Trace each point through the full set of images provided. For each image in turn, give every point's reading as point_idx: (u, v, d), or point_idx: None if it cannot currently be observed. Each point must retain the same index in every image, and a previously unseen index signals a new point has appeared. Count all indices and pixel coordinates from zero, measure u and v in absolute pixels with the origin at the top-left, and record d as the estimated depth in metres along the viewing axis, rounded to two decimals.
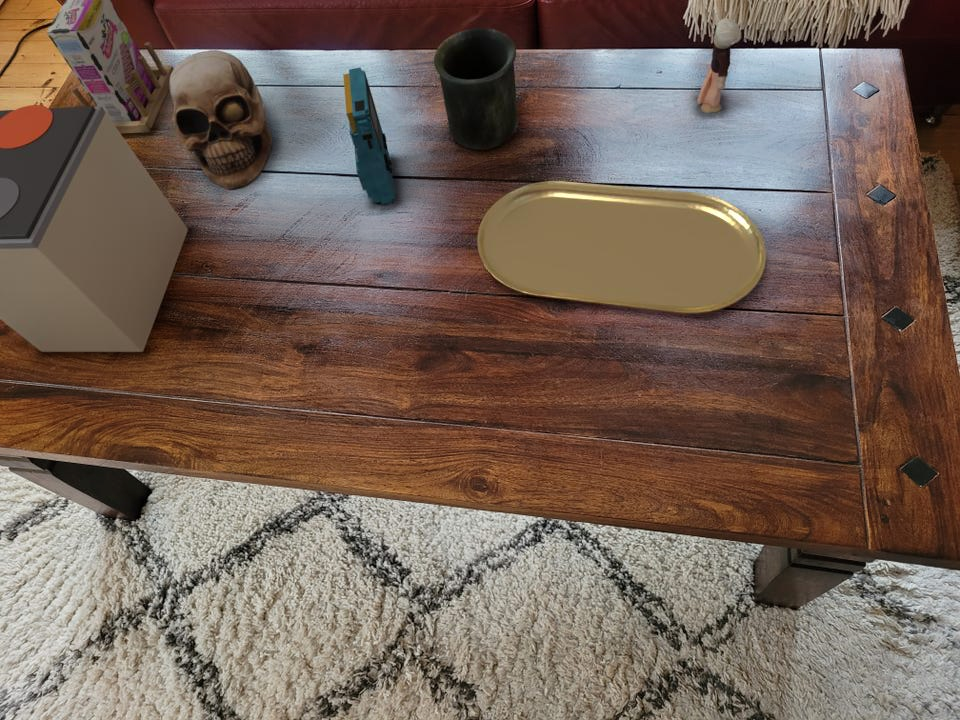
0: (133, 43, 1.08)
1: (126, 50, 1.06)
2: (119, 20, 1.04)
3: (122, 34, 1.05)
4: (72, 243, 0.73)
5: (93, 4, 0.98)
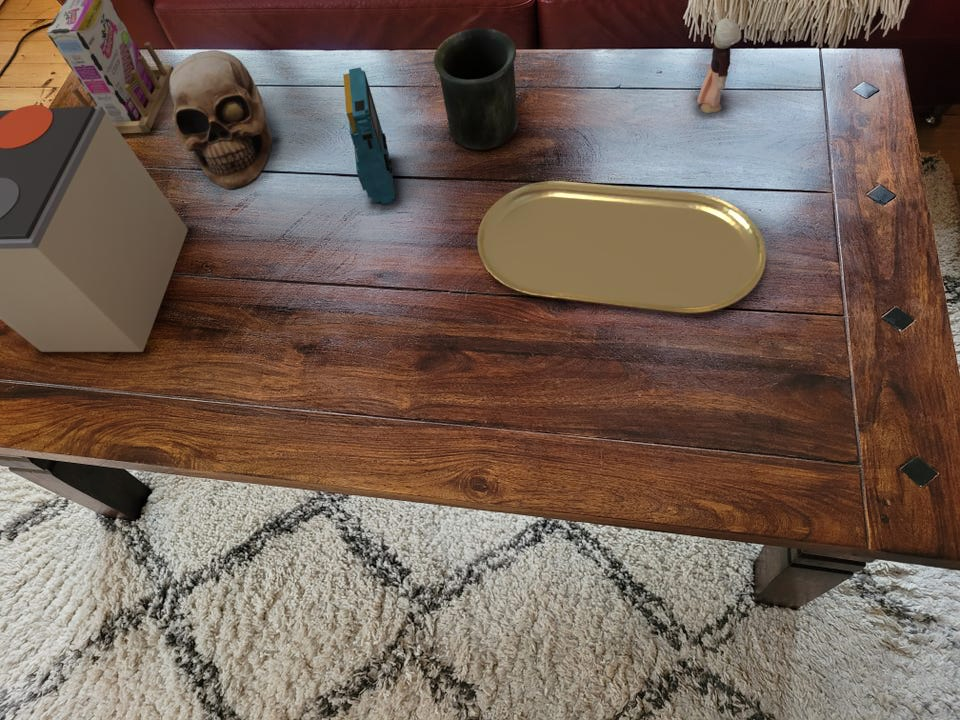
0: (133, 43, 1.08)
1: (126, 50, 1.06)
2: (119, 20, 1.04)
3: (122, 34, 1.05)
4: (72, 243, 0.73)
5: (93, 4, 0.98)
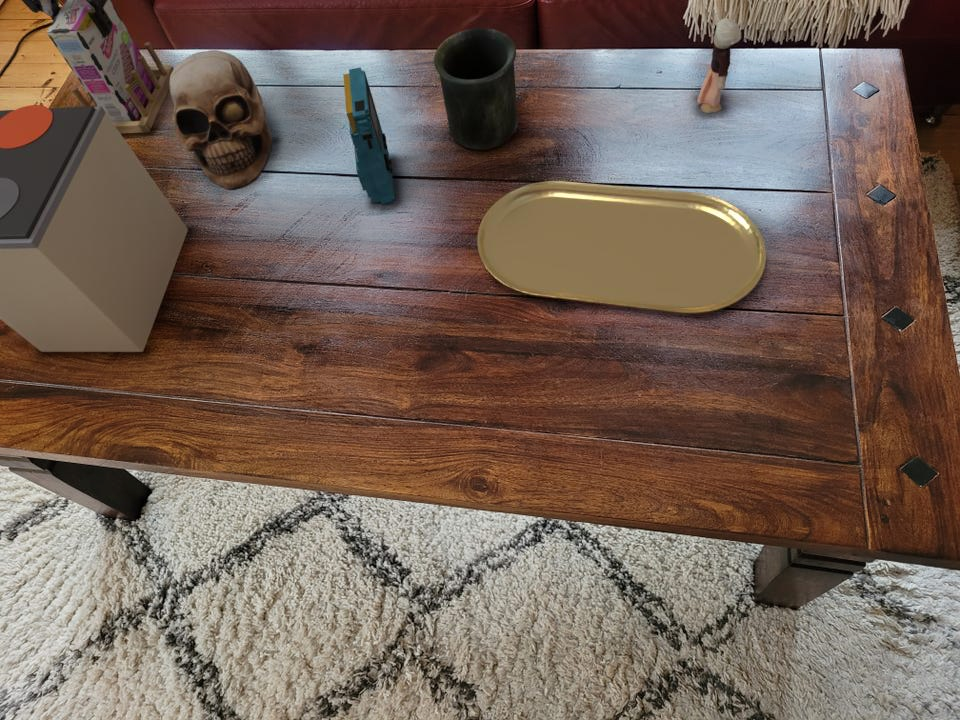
0: (133, 43, 1.08)
1: (126, 50, 1.06)
2: (119, 20, 1.04)
3: (122, 33, 1.05)
4: (72, 243, 0.73)
5: None
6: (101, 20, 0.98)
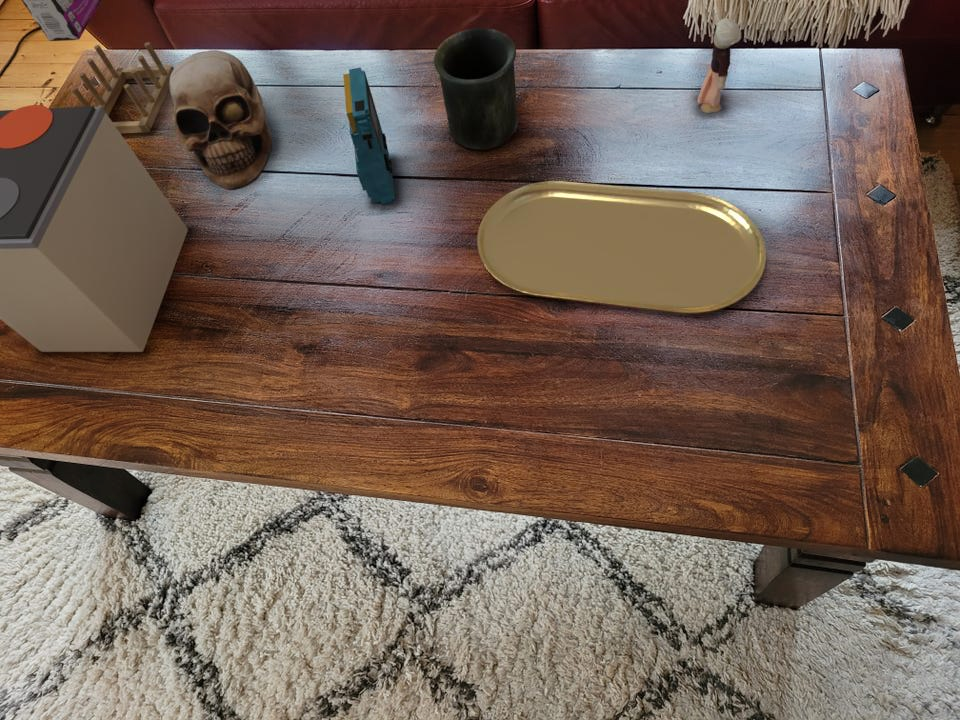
0: None
1: None
2: None
3: None
4: (72, 243, 0.73)
5: None
6: None
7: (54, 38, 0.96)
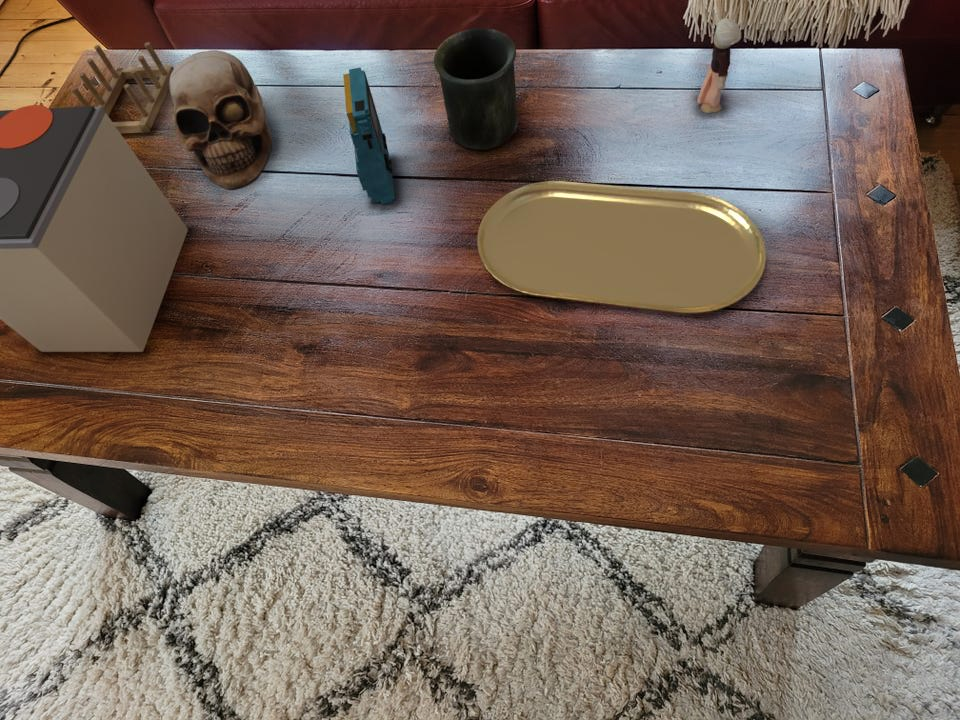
0: None
1: None
2: None
3: None
4: (72, 243, 0.73)
5: None
6: None
7: None
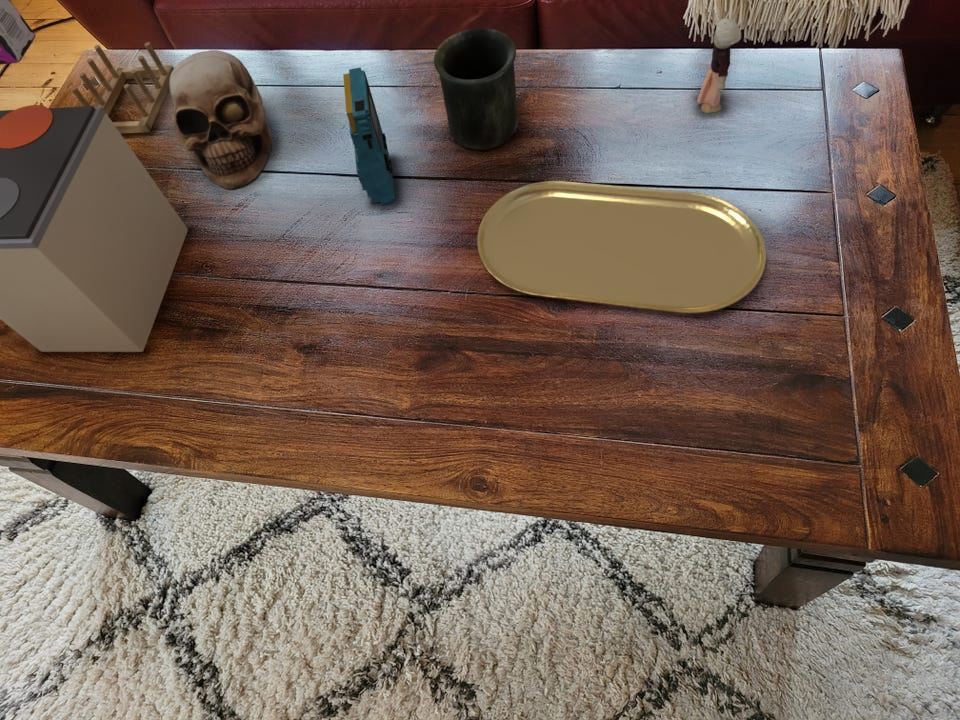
0: None
1: None
2: None
3: None
4: (72, 243, 0.73)
5: None
6: None
7: (21, 52, 0.70)
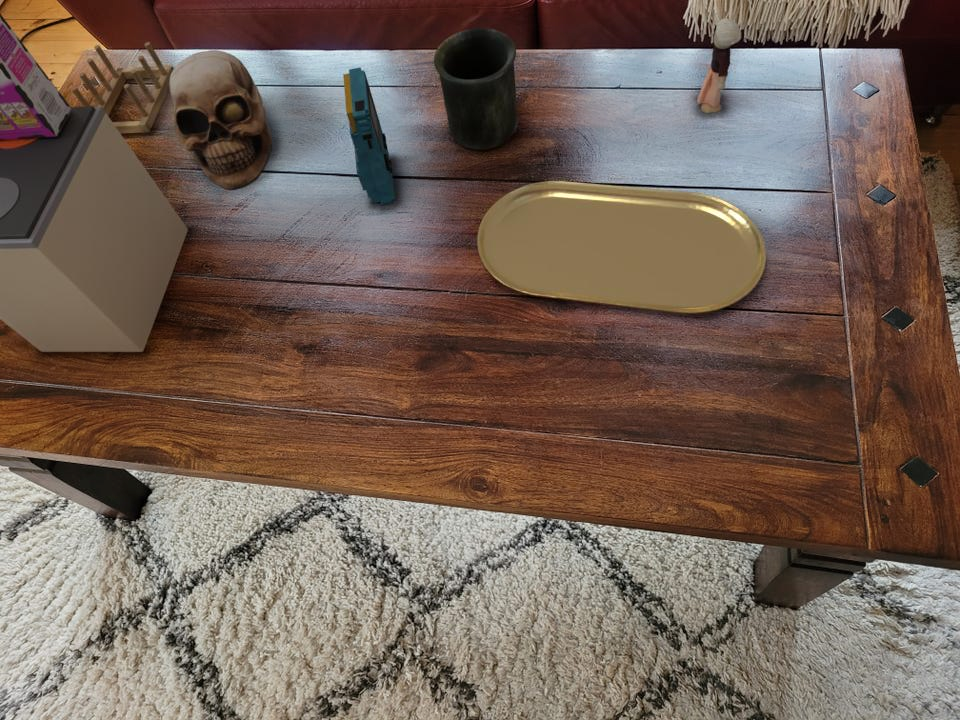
0: None
1: None
2: None
3: None
4: (72, 243, 0.73)
5: None
6: None
7: (58, 127, 0.75)
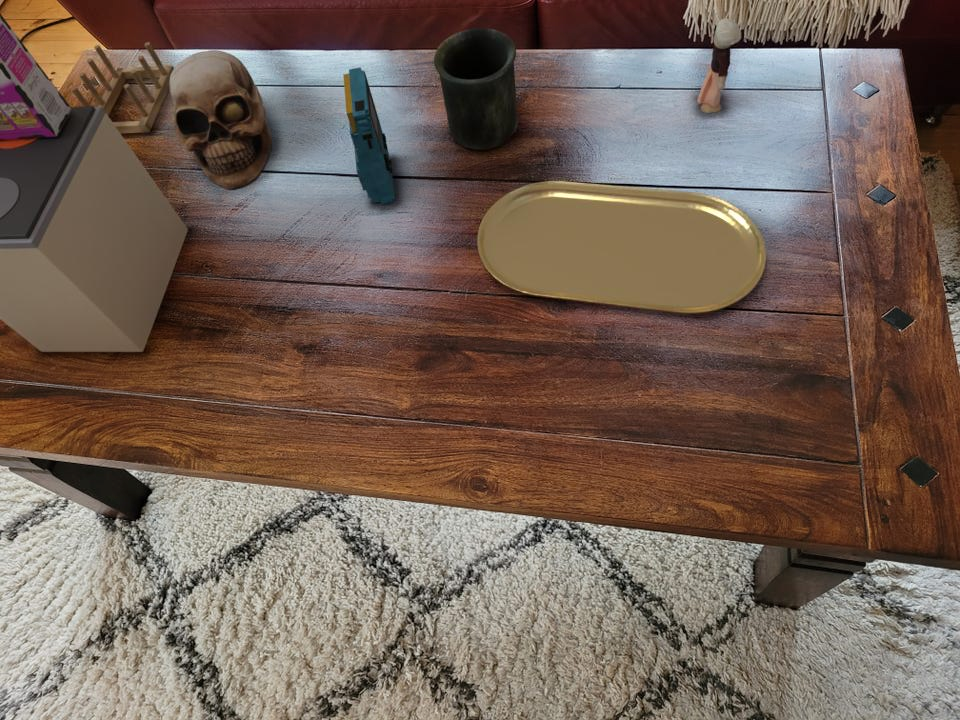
0: None
1: None
2: None
3: None
4: (72, 243, 0.73)
5: None
6: None
7: (58, 127, 0.75)
